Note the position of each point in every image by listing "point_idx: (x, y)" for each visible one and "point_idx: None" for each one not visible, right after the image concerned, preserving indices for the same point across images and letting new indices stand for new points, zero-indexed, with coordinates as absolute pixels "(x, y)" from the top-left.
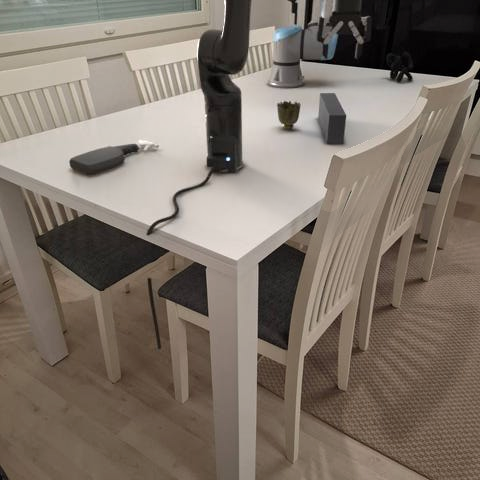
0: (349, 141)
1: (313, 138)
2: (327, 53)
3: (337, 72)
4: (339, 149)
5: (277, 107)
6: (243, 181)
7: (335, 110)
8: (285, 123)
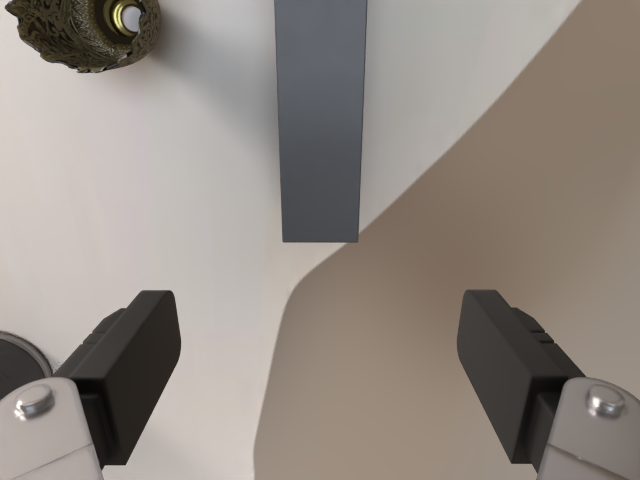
0: (376, 177)
1: (246, 143)
2: (161, 389)
3: None
4: (328, 252)
5: (17, 12)
6: None
7: (319, 168)
8: (109, 57)
